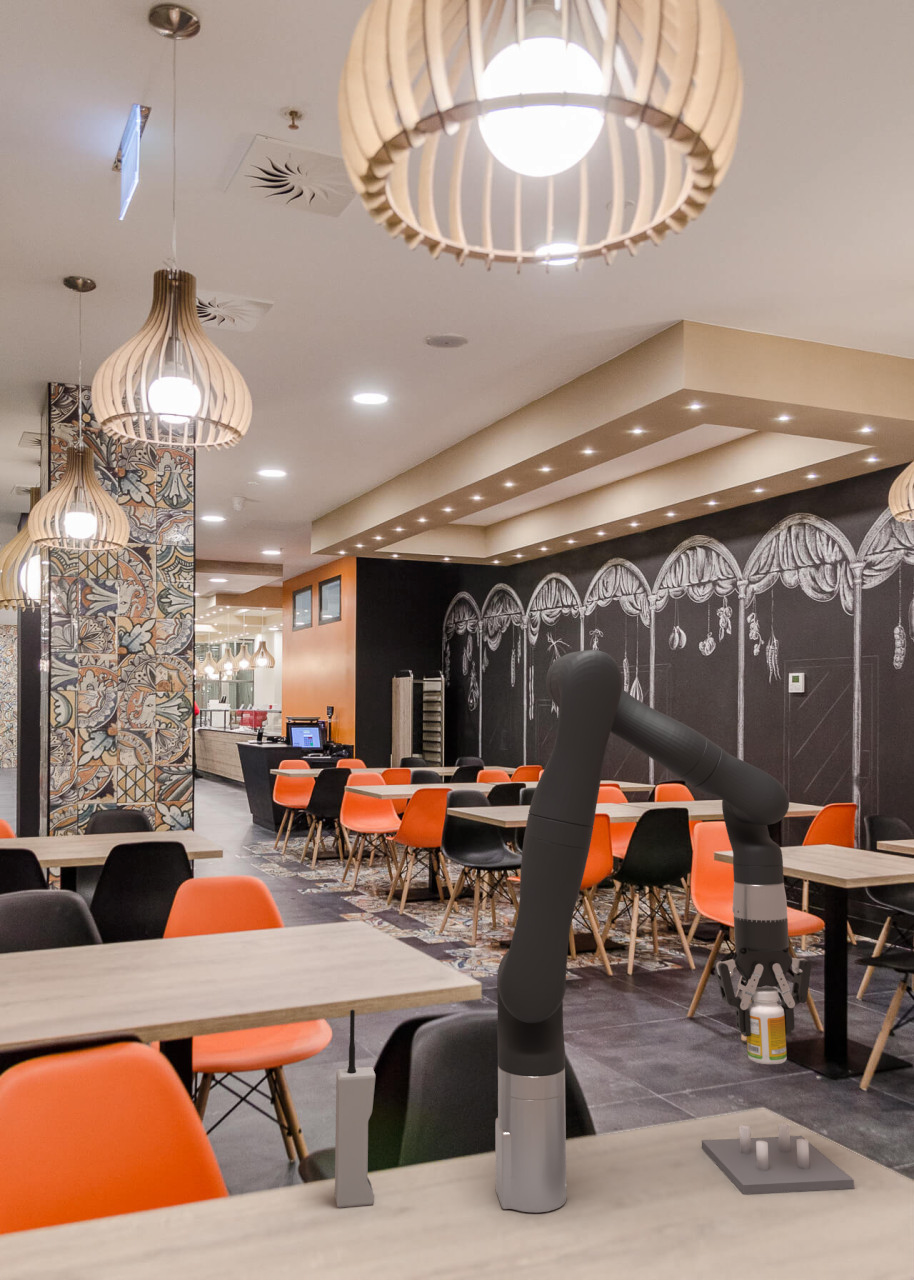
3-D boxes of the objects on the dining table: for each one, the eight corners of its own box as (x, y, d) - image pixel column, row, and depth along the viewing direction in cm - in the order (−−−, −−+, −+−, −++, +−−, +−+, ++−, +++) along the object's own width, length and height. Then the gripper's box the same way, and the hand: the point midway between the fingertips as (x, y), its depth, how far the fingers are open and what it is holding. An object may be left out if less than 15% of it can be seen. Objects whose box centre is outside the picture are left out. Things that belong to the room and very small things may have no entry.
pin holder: (743, 1194, 137) (742, 1158, 137) (701, 1148, 152) (700, 1116, 153) (854, 1188, 138) (852, 1153, 139) (801, 1143, 154) (800, 1111, 155)
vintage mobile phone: (374, 1205, 133) (376, 1011, 136) (336, 1208, 132) (339, 1013, 135) (371, 1193, 137) (373, 1004, 140) (334, 1196, 136) (337, 1006, 139)
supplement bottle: (787, 1055, 144) (784, 986, 146) (786, 1066, 139) (782, 995, 141) (749, 1052, 146) (745, 983, 147) (746, 1063, 141) (742, 992, 142)
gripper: (721, 919, 141) (726, 1044, 139) (819, 916, 142) (825, 1039, 140) (703, 911, 148) (708, 1029, 146) (796, 908, 150) (802, 1025, 148)
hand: (765, 1033), depth 143 cm, fingers closed on supplement bottle, 5 cm apart
